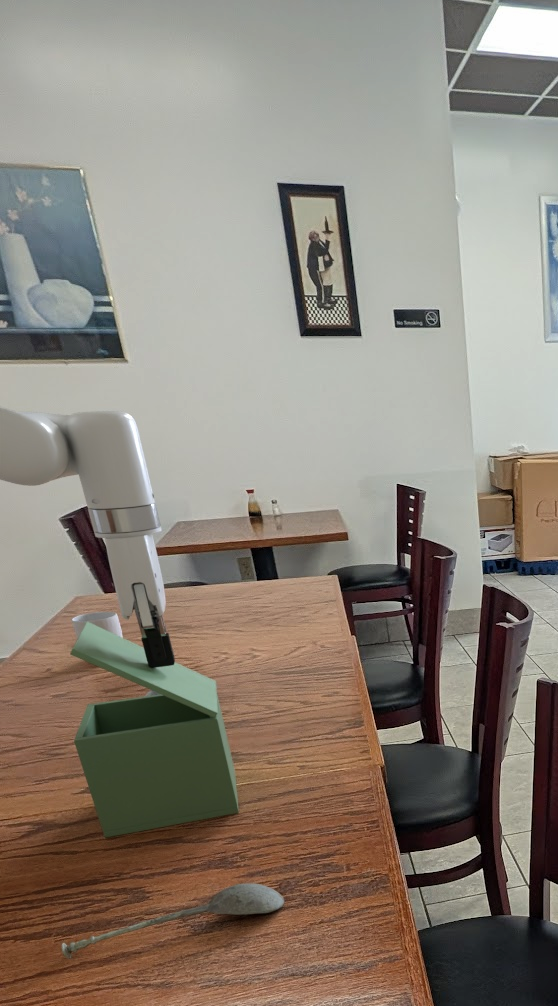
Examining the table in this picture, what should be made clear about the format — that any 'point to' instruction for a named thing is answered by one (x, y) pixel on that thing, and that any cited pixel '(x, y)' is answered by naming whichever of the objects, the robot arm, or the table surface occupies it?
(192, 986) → the table surface
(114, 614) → the mug
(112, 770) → the chest
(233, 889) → the soupspoon
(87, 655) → the lid
